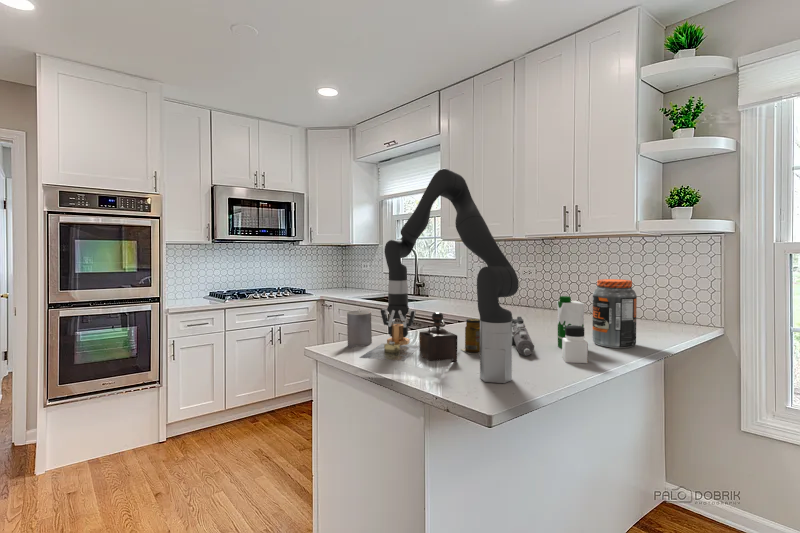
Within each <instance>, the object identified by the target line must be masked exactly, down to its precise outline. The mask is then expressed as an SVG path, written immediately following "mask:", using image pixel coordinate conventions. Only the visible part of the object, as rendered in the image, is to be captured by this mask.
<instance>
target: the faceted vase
mask: <svg viewBox="0 0 800 533" xmlns="http://www.w3.org/2000/svg"><path fill="white" fill-rule="evenodd" d="M403 327H404V326H403V323H393V325H392V336H391V337H389V338H387V339H386V344H387V343H389V342H390V341H394V342H395V343H398V344H400V345H410V339H411V338H408V337H407V336H406V337H403Z"/></svg>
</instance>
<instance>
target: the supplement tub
mask: <svg viewBox="0 0 800 533" xmlns="http://www.w3.org/2000/svg"><path fill="white" fill-rule="evenodd" d="M596 282H597V283H596V288H595V289H594V290H593V293H592V342H593V343H594V344H596V345H597V346H600V347H601V346H602V347H604V348H605V347H607V348H611V349H612V348H614V349H627V348H628V349H629V348H633V347H635V346H636V344H637V305H638V304H637V302H638V301H637V299H638V297H637V293H636V291H635V290H634V289H633V288H632V286H633V281H632V280H630V279H620V278H619V279H617V278H606V279H605V278H602V279H597V281H596Z"/></svg>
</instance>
